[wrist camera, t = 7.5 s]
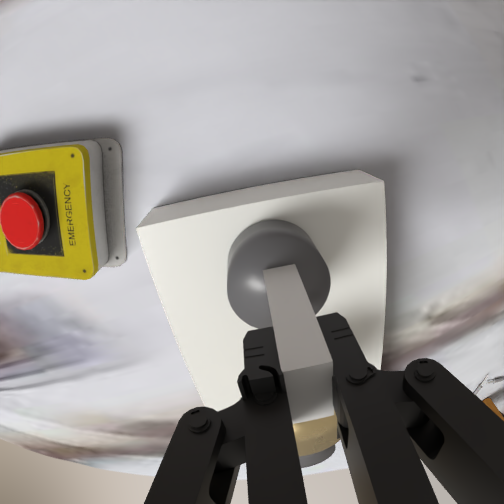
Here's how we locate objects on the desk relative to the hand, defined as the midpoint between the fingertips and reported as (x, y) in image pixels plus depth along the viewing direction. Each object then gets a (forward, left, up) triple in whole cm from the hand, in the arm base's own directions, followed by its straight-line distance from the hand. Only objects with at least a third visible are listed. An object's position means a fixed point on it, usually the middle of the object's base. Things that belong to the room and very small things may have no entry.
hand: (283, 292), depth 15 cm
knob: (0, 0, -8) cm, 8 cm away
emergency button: (-6, -16, -8) cm, 19 cm away
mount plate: (+8, 0, -7) cm, 11 cm away
